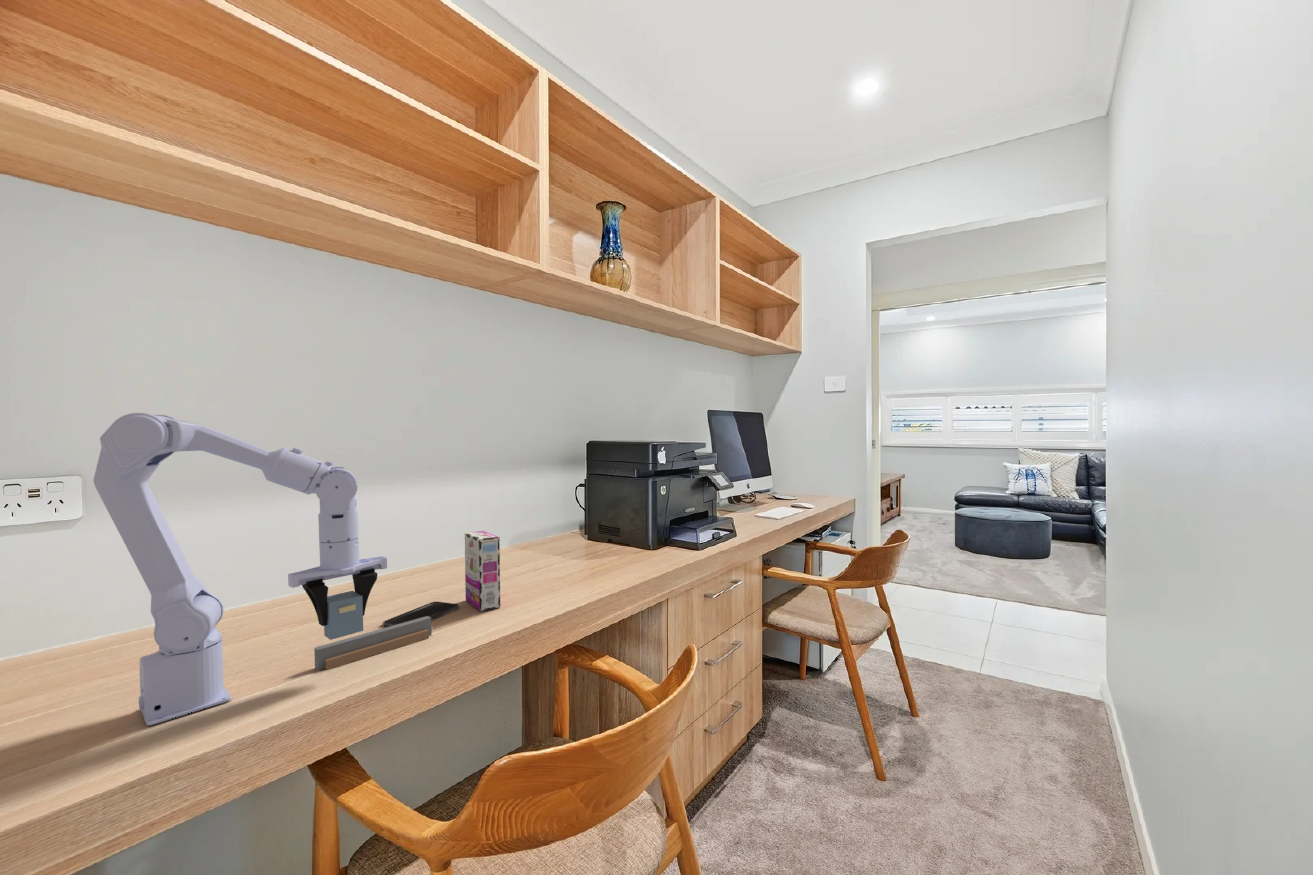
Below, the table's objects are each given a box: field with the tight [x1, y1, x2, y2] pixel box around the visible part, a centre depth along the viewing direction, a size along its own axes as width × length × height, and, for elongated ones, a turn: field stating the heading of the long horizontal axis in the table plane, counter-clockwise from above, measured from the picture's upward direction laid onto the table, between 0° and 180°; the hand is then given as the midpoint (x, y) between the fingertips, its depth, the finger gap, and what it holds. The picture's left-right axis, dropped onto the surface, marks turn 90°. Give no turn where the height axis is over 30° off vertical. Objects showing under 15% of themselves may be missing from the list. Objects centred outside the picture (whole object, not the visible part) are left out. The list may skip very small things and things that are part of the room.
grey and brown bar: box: [313, 616, 433, 671], centre depth 99 cm, size 20×3×4 cm, turn 139°
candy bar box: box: [464, 530, 501, 612], centre depth 126 cm, size 11×5×16 cm, turn 37°
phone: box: [382, 601, 459, 628], centre depth 118 cm, size 8×1×15 cm
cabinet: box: [323, 590, 364, 641], centre depth 90 cm, size 5×5×6 cm
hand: (342, 619), depth 91 cm, fingers closed on cabinet, 5 cm apart
